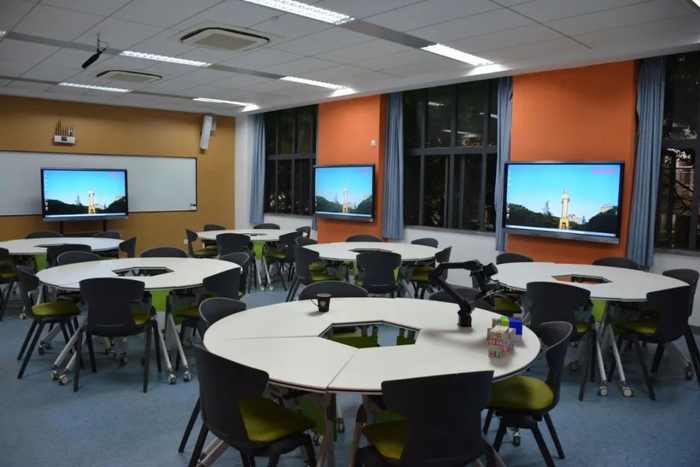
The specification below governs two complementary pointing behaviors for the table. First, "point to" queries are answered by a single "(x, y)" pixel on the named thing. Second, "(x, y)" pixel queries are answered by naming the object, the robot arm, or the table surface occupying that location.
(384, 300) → the table surface
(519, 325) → the puzzle toy
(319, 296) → the coffee mug
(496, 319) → the numbered block 1
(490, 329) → the numbered block 2
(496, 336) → the stack of blocks
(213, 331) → the table surface
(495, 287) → the robot arm
